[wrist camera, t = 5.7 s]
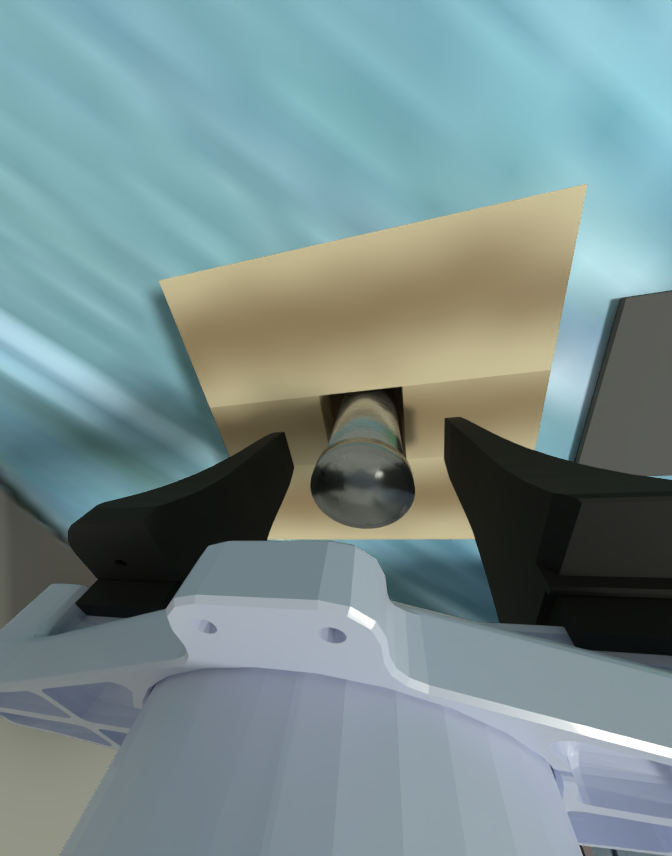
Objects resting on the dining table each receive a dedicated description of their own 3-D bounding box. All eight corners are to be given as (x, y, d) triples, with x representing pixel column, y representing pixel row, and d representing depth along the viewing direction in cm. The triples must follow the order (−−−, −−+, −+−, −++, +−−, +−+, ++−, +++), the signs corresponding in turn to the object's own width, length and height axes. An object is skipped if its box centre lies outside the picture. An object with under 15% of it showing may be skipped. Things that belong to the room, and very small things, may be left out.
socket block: (496, 502, 18) (517, 538, 15) (277, 508, 21) (262, 539, 18) (536, 209, 11) (587, 183, 8) (199, 282, 14) (158, 280, 11)
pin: (400, 423, 16) (418, 527, 9) (345, 428, 17) (322, 529, 10) (395, 368, 15) (411, 442, 8) (335, 377, 15) (299, 452, 8)
